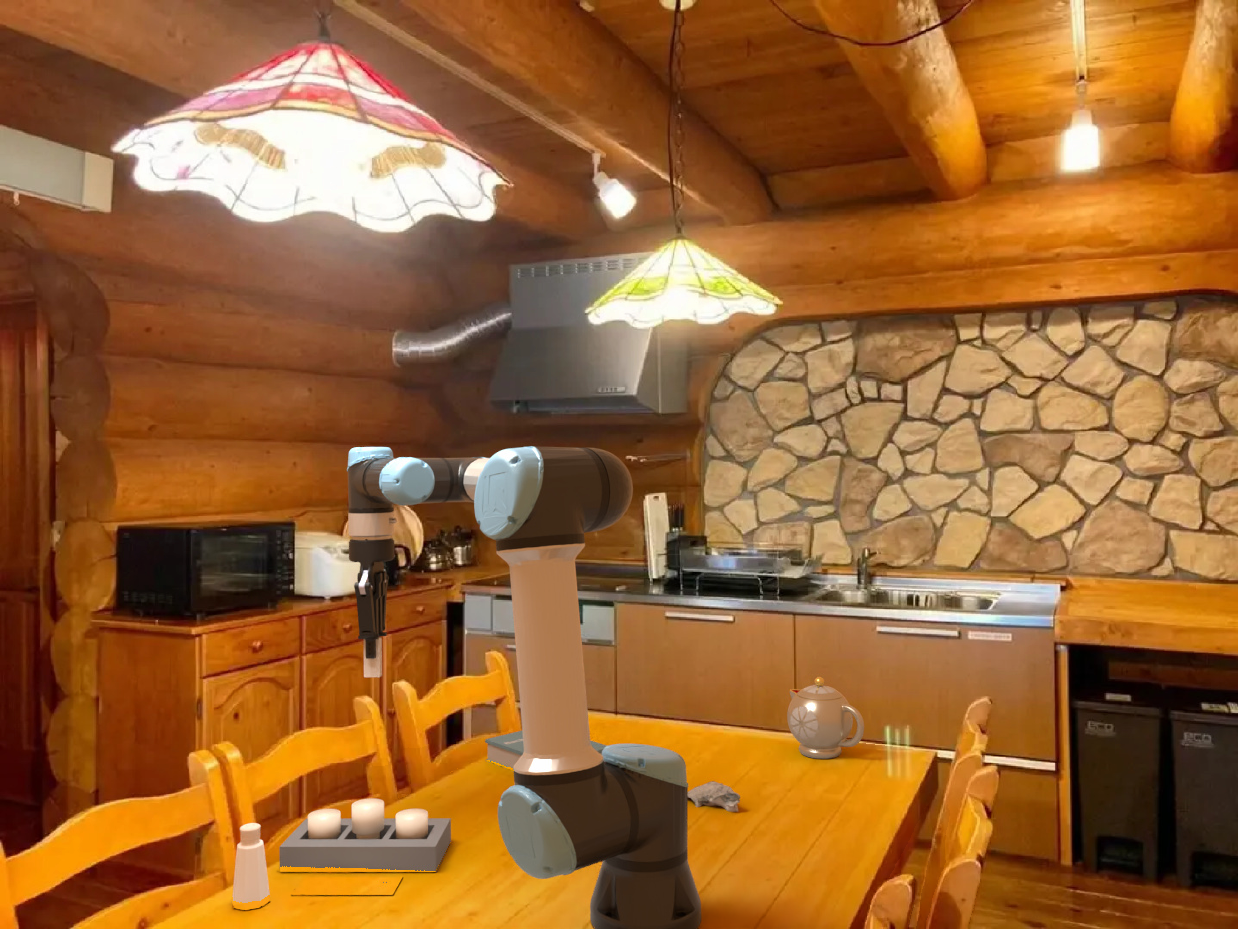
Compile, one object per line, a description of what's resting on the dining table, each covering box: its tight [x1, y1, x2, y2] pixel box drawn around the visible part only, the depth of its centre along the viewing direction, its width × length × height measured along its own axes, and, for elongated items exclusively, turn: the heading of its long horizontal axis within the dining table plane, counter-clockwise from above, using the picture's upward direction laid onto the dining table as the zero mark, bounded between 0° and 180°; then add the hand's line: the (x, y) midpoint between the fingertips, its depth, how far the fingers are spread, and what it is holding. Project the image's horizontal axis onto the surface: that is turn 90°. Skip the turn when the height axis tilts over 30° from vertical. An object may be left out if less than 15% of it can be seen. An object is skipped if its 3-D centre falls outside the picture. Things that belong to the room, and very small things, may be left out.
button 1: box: [307, 808, 342, 839], centre depth 157 cm, size 5×5×6 cm
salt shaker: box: [232, 822, 271, 903], centre depth 141 cm, size 5×5×11 cm
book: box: [484, 730, 608, 768], centre depth 205 cm, size 23×16×5 cm
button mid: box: [351, 797, 385, 839], centre depth 157 cm, size 5×5×6 cm
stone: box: [688, 780, 741, 813], centre depth 180 cm, size 6×12×4 cm, turn 25°
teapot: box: [786, 676, 865, 760], centre depth 209 cm, size 18×14×16 cm
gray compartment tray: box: [278, 817, 452, 872], centre depth 157 cm, size 12×24×4 cm, turn 89°
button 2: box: [395, 808, 429, 839], centre depth 157 cm, size 5×5×6 cm
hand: (373, 676), depth 168 cm, fingers closed
